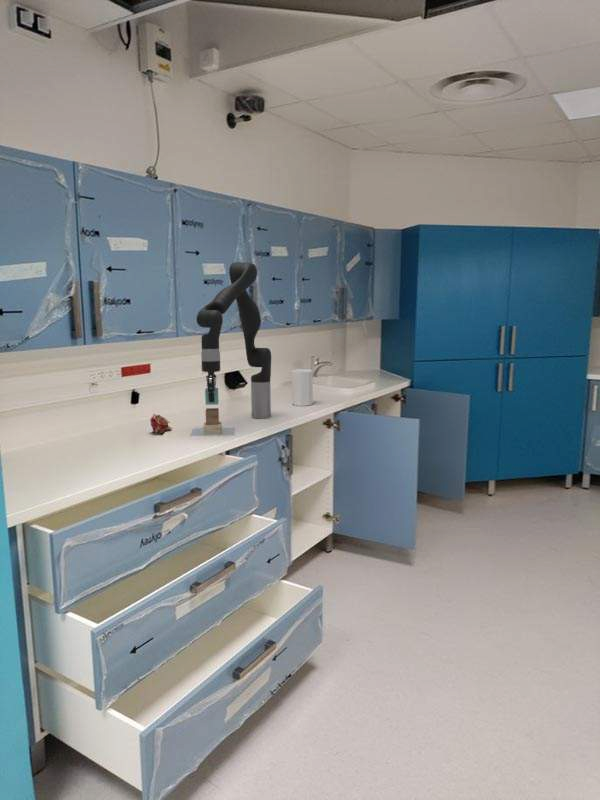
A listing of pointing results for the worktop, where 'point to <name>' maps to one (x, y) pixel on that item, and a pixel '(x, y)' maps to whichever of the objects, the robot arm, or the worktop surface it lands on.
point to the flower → (159, 424)
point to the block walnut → (212, 416)
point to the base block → (212, 429)
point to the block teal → (214, 397)
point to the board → (201, 433)
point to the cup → (302, 387)
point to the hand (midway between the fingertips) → (212, 400)
